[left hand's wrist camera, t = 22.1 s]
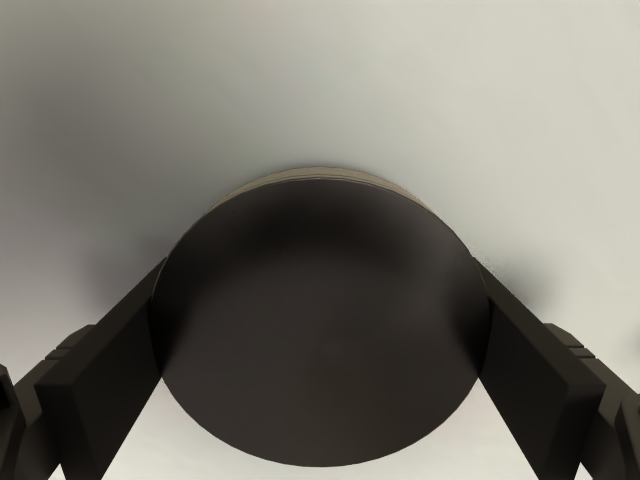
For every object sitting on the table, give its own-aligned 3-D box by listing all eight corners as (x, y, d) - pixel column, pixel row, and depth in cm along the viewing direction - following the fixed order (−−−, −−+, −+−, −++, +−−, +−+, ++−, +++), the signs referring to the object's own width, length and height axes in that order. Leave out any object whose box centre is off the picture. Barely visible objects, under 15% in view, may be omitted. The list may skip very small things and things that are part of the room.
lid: (316, 89, 10) (315, 86, 8) (529, 312, 12) (560, 343, 10) (112, 317, 12) (81, 348, 11) (322, 465, 14) (322, 508, 13)
